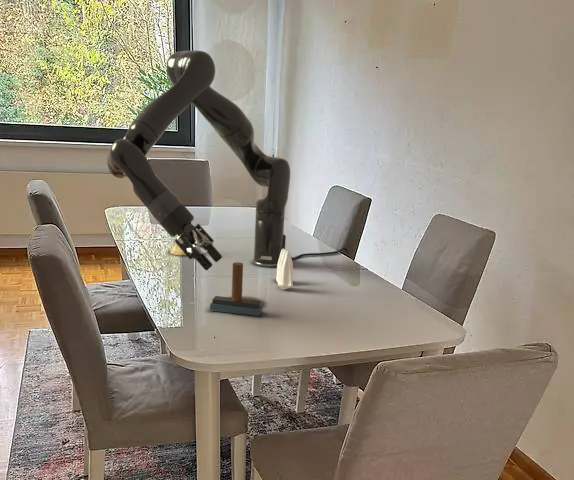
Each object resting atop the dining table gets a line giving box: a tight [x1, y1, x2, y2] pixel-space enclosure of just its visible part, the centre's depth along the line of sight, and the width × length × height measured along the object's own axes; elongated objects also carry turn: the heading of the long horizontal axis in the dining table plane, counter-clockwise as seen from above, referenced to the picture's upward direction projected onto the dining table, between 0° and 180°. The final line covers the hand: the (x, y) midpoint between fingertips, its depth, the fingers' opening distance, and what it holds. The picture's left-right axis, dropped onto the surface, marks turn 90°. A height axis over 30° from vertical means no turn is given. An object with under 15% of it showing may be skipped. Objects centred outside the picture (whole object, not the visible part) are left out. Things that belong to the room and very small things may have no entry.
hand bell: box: [169, 203, 187, 257], centre depth 210 cm, size 8×8×16 cm
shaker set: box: [275, 248, 294, 290], centre depth 184 cm, size 12×4×11 cm, turn 4°
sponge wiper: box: [209, 261, 264, 317], centre depth 160 cm, size 4×13×13 cm, turn 80°
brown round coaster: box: [242, 296, 264, 306], centre depth 170 cm, size 10×10×1 cm
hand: (214, 263), depth 159 cm, fingers open, 8 cm apart
